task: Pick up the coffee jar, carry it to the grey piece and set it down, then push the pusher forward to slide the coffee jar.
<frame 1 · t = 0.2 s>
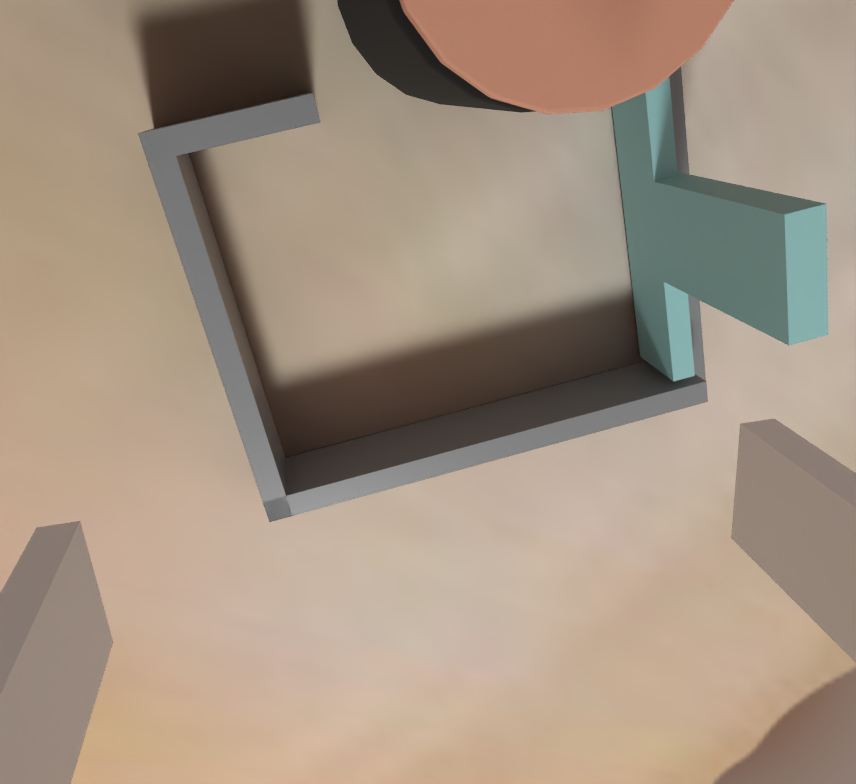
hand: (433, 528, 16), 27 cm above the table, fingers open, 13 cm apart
pusher: (706, 240, 36), point 8 cm above the table, slide at 0.0 cm
grey piece: (440, 264, 42), on the table
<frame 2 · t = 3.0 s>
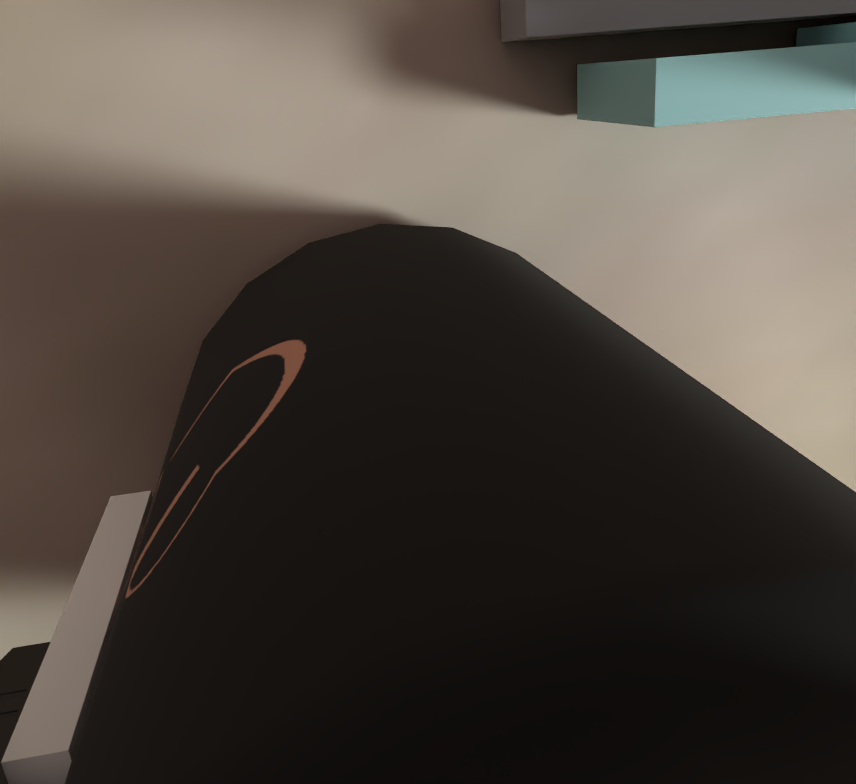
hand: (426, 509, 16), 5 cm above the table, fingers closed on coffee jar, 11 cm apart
coffee jar: (393, 415, 21), on the table, touching gripper
grey piece: (829, 452, 24), on the table
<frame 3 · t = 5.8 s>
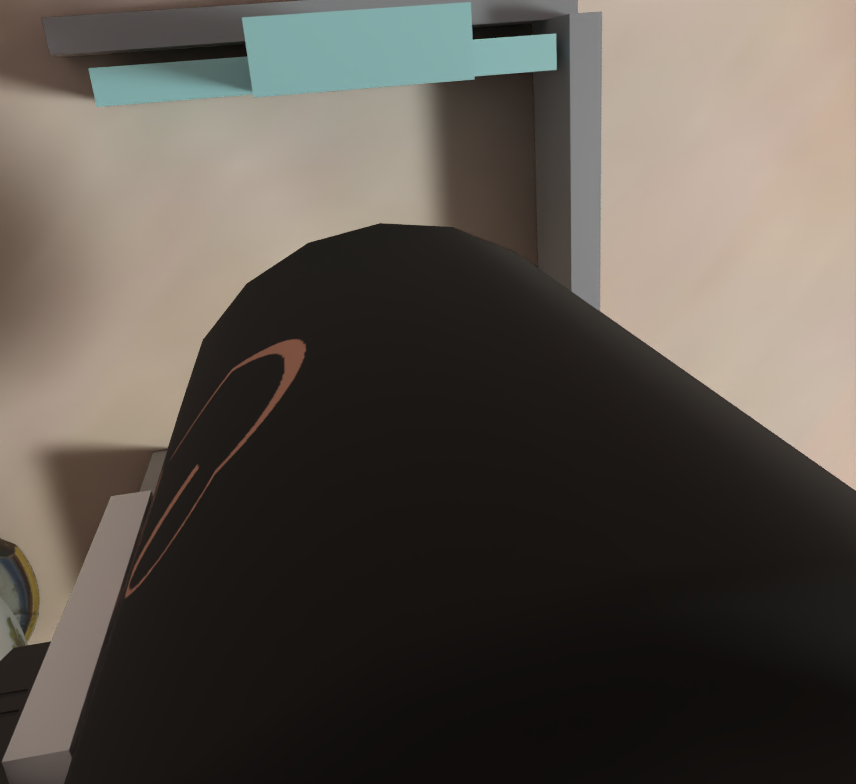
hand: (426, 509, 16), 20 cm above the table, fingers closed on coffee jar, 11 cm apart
pusher: (339, 59, 24), point 8 cm above the table, slide at 0.0 cm
coffee jar: (393, 414, 21), point 15 cm above the table, touching gripper
grey piece: (355, 331, 35), on the table
when the fingers open (6 cm above the table, at t = 8.8 s): coffee jar drops 1 cm, on the table.
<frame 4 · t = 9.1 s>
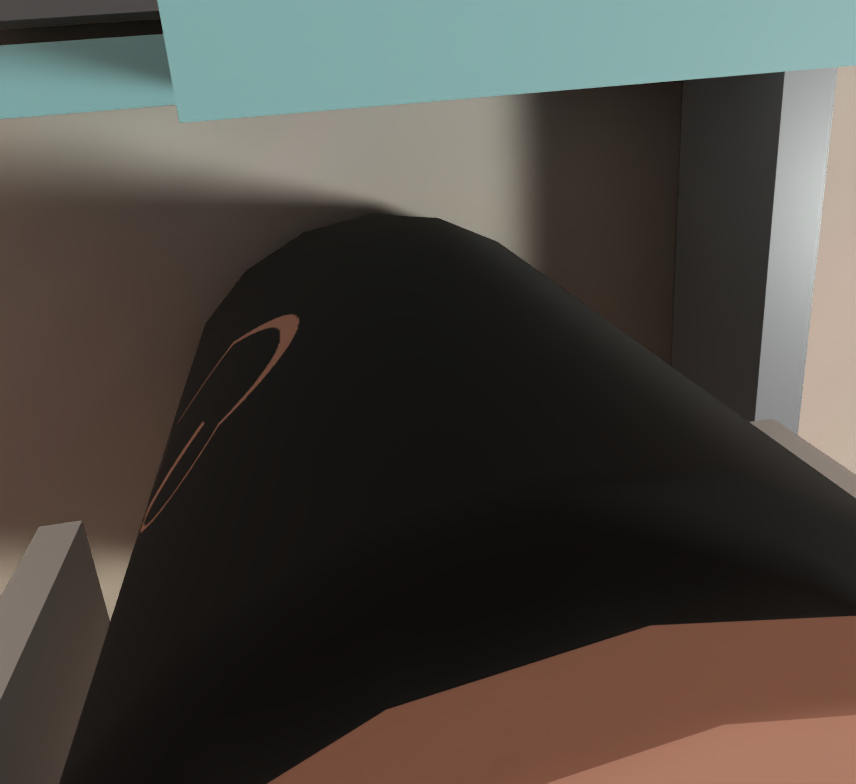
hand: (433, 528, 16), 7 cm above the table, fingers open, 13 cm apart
pusher: (396, 32, 12), point 8 cm above the table, slide at 0.0 cm
coffee jar: (384, 395, 23), on the table
grey piece: (394, 461, 23), on the table
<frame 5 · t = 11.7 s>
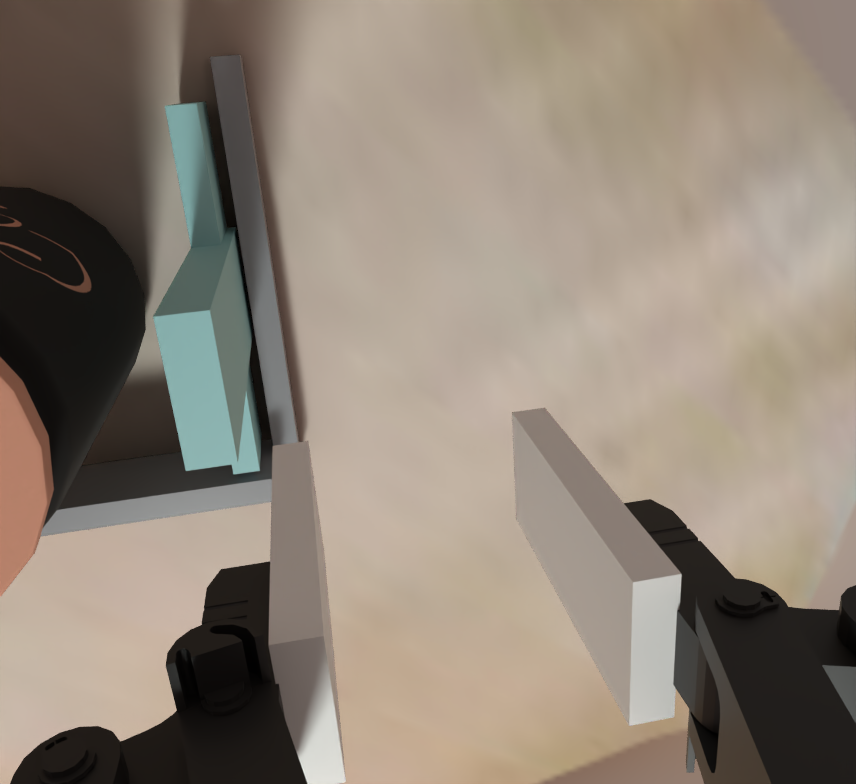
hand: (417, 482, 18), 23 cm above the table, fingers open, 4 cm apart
pusher: (215, 325, 31), point 8 cm above the table, slide at 0.0 cm
coffee jar: (30, 300, 37), on the table
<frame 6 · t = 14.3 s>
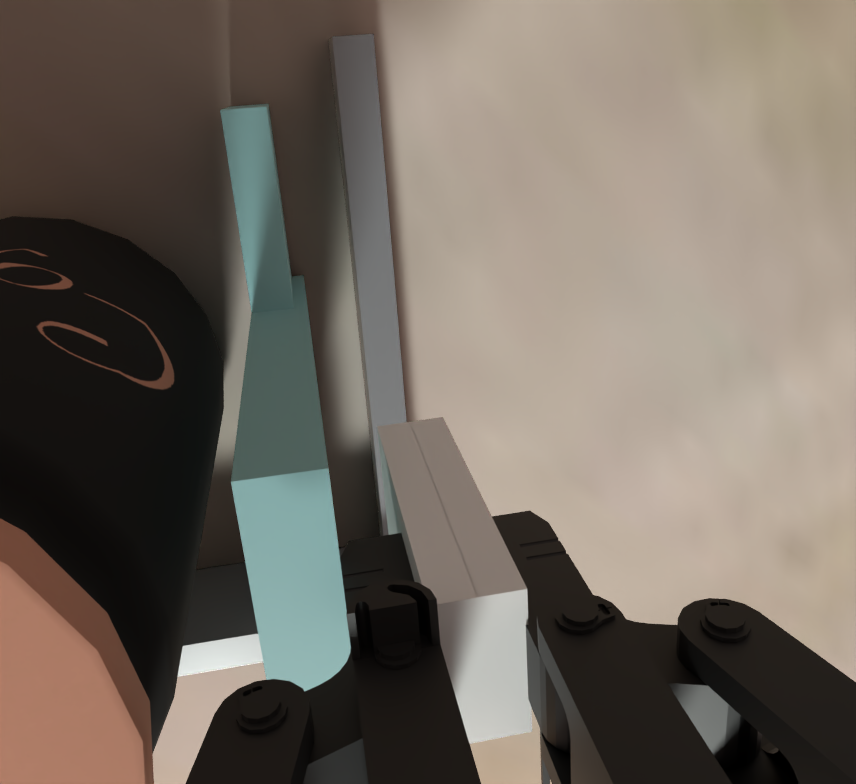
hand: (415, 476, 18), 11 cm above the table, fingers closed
pusher: (292, 432, 21), point 8 cm above the table, slide at 1.5 cm, touching gripper
coffee jar: (67, 367, 27), on the table
grey piece: (4, 378, 27), on the table
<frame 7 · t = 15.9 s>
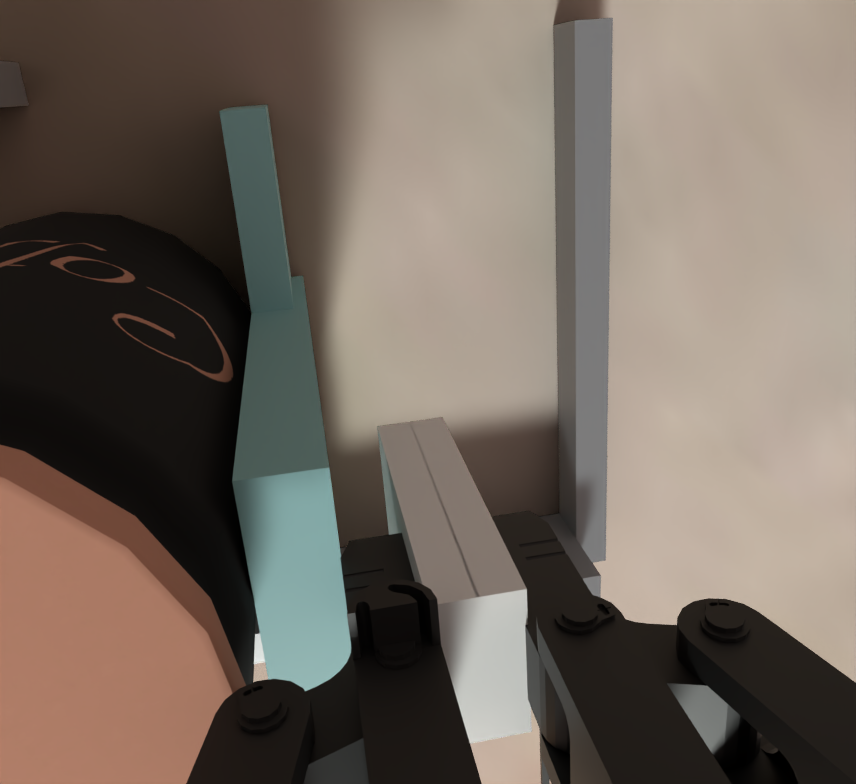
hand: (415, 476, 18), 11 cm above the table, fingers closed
pusher: (293, 432, 21), point 8 cm above the table, slide at 8.8 cm, touching coffee jar, gripper
coffee jar: (109, 362, 27), on the table, touching pusher
grey piece: (226, 353, 28), on the table
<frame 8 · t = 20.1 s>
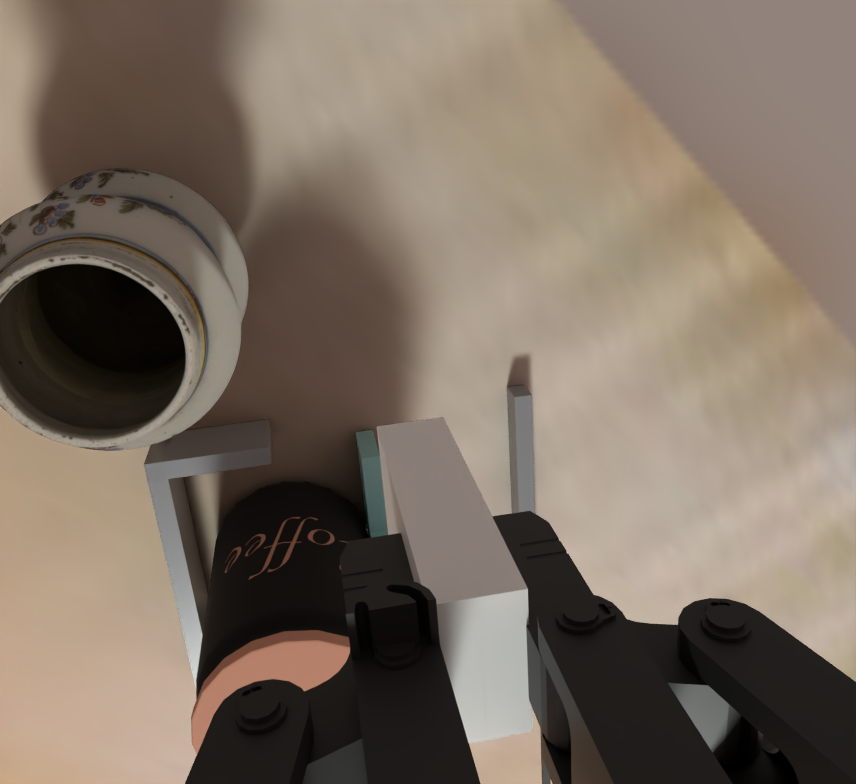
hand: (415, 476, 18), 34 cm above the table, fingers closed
pusher: (391, 590, 51), point 8 cm above the table, slide at 9.1 cm
apothecary jar: (151, 261, 49), on the table
coffee jar: (293, 538, 57), on the table
grey piece: (351, 532, 58), on the table
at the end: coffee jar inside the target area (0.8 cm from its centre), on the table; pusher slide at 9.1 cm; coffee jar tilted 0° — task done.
